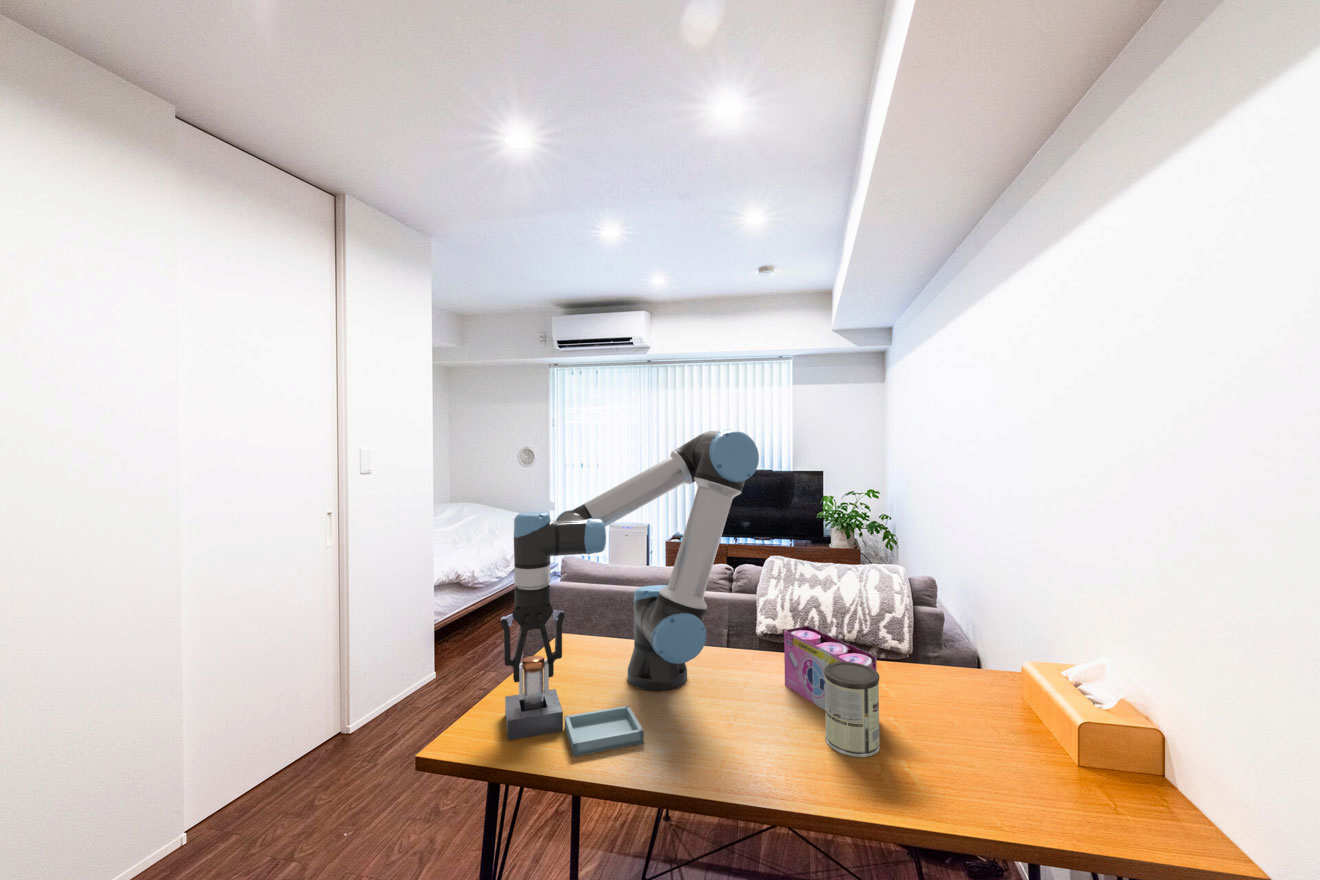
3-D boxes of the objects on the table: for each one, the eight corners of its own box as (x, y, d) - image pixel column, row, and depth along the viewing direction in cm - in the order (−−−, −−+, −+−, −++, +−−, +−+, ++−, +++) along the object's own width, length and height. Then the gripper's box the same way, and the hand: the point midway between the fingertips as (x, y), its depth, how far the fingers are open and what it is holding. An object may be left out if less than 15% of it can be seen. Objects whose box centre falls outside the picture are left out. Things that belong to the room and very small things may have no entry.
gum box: (884, 723, 116) (883, 659, 116) (855, 731, 112) (855, 666, 112) (808, 678, 137) (808, 625, 137) (783, 685, 134) (782, 629, 134)
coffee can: (825, 725, 115) (825, 658, 115) (878, 734, 111) (878, 665, 111) (823, 752, 105) (823, 679, 105) (881, 762, 101) (880, 686, 101)
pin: (543, 713, 119) (543, 654, 119) (546, 723, 115) (545, 662, 115) (522, 717, 118) (521, 657, 118) (523, 727, 114) (523, 665, 114)
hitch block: (555, 706, 123) (555, 688, 123) (562, 730, 113) (562, 711, 113) (505, 714, 120) (505, 696, 120) (508, 740, 110) (507, 720, 110)
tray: (629, 716, 119) (629, 705, 119) (643, 743, 108) (643, 730, 108) (564, 728, 114) (564, 716, 114) (573, 756, 104) (573, 743, 104)
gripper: (570, 577, 123) (571, 680, 123) (489, 584, 117) (490, 692, 117) (576, 585, 116) (577, 695, 116) (489, 593, 110) (491, 709, 110)
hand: (533, 693), depth 117 cm, fingers closed on pin, 4 cm apart
